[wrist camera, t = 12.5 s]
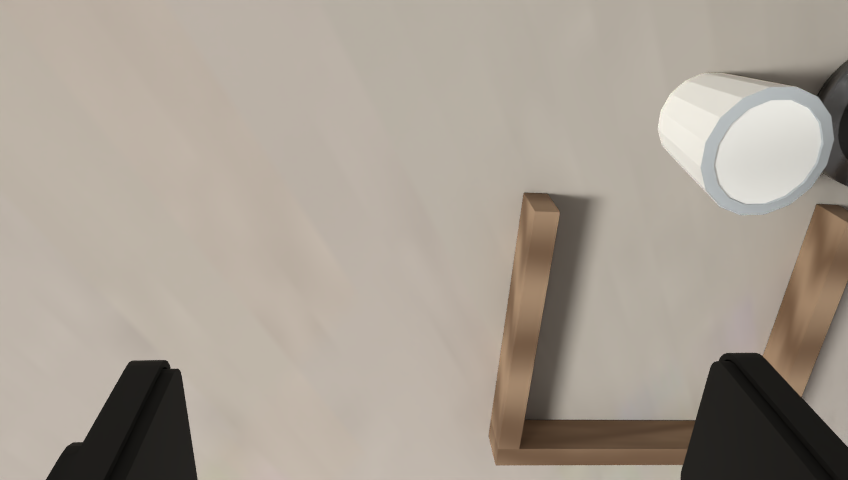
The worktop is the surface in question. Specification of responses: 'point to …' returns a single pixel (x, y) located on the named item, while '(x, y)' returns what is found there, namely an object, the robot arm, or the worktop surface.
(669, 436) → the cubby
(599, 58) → the worktop surface
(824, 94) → the dark grey round dish
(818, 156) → the white cup
